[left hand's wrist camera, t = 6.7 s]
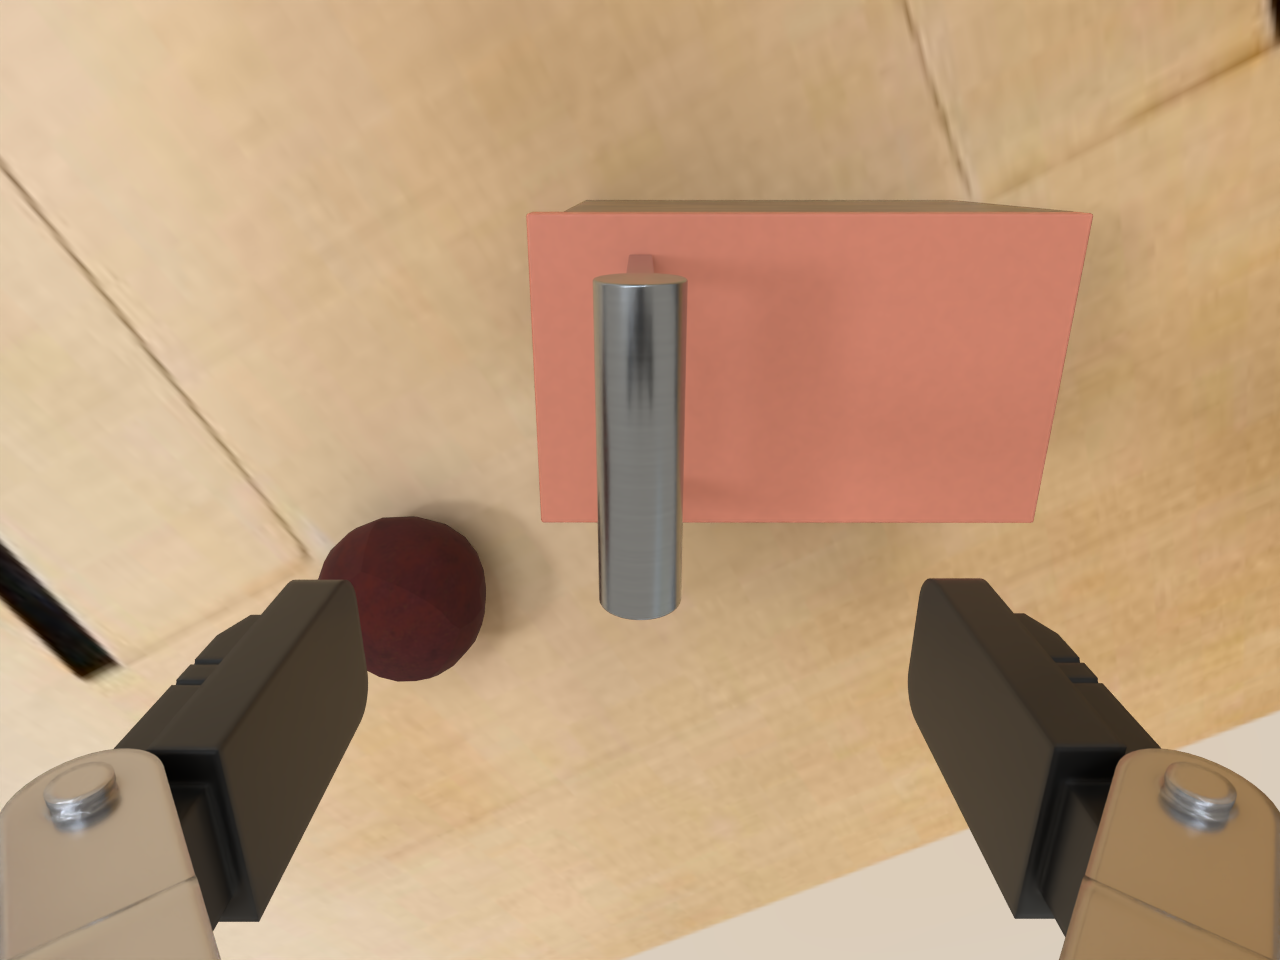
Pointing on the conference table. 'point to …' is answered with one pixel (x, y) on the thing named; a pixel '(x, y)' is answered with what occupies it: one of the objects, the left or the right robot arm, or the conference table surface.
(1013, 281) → the lid
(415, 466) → the conference table surface
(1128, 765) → the left robot arm
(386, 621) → the dark red ball
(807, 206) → the chest
